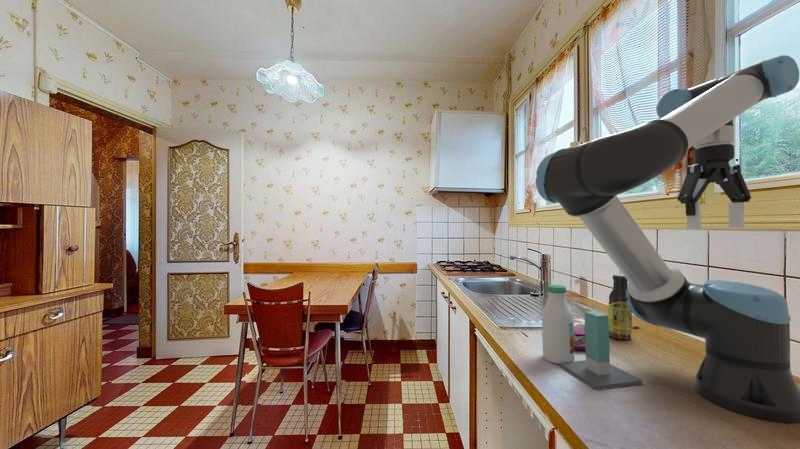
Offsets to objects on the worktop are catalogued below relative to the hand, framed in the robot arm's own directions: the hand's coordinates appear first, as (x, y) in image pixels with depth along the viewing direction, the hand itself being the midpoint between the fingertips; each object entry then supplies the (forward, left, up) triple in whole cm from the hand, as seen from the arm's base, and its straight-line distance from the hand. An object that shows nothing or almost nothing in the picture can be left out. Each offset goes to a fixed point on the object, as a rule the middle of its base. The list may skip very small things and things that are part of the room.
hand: (715, 228), depth 82 cm
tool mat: (+1, +35, -35) cm, 49 cm away
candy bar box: (+13, +26, -32) cm, 44 cm away
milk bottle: (+11, +39, -35) cm, 53 cm away
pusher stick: (+1, +35, -34) cm, 49 cm away
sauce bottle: (+21, +9, -35) cm, 42 cm away
